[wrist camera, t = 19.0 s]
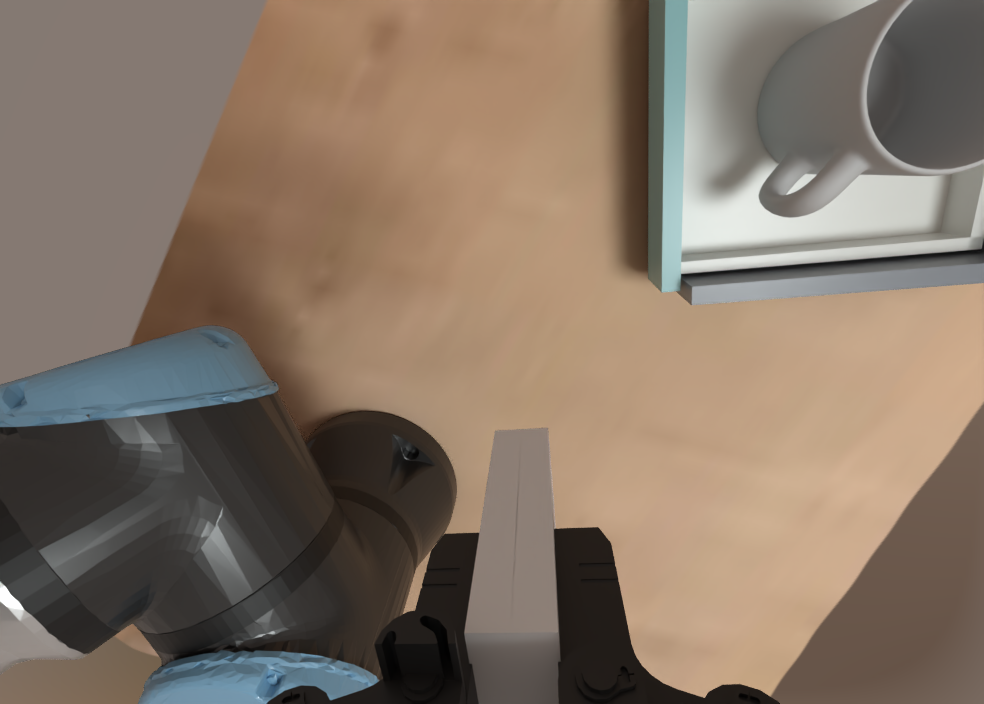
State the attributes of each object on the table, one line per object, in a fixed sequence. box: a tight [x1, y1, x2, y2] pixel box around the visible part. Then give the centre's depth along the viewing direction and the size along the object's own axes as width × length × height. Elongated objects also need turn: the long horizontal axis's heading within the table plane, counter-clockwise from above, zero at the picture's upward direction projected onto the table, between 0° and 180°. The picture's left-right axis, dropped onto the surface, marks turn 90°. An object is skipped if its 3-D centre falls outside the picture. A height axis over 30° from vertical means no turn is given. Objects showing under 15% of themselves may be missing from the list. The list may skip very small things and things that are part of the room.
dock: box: [676, 240, 984, 305], centre depth 30 cm, size 20×20×7 cm
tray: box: [648, 0, 984, 292], centre depth 31 cm, size 20×19×4 cm
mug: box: [757, 0, 984, 218], centre depth 27 cm, size 12×8×11 cm
